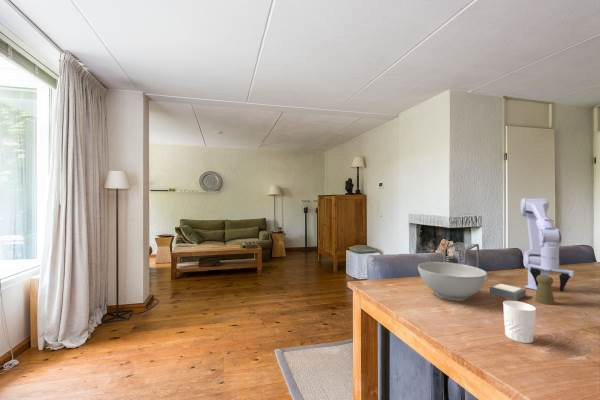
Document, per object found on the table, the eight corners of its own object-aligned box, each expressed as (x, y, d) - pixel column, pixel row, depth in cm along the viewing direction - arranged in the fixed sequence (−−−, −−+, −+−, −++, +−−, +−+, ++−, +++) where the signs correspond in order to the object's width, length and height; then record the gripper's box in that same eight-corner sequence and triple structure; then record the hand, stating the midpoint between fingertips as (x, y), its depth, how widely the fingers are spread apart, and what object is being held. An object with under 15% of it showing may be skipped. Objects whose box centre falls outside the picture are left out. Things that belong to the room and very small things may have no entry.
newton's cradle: (466, 285, 134) (466, 250, 134) (443, 281, 141) (443, 247, 141) (479, 274, 155) (479, 243, 155) (458, 270, 163) (458, 241, 163)
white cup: (496, 332, 86) (496, 300, 86) (519, 331, 87) (519, 300, 87) (518, 345, 79) (518, 311, 79) (543, 344, 79) (543, 310, 79)
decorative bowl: (492, 295, 120) (492, 268, 120) (480, 313, 100) (480, 281, 100) (428, 282, 138) (428, 259, 138) (408, 296, 119) (408, 268, 119)
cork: (558, 305, 109) (558, 278, 109) (541, 304, 110) (541, 277, 110) (547, 300, 114) (548, 274, 115) (531, 298, 116) (531, 273, 116)
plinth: (499, 289, 128) (499, 282, 128) (525, 296, 119) (525, 288, 119) (489, 293, 122) (489, 286, 122) (516, 300, 114) (516, 292, 114)
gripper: (525, 255, 119) (525, 285, 119) (570, 261, 107) (570, 295, 107) (531, 253, 123) (531, 283, 123) (575, 259, 111) (575, 292, 111)
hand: (549, 288), depth 115 cm, fingers open, 7 cm apart
